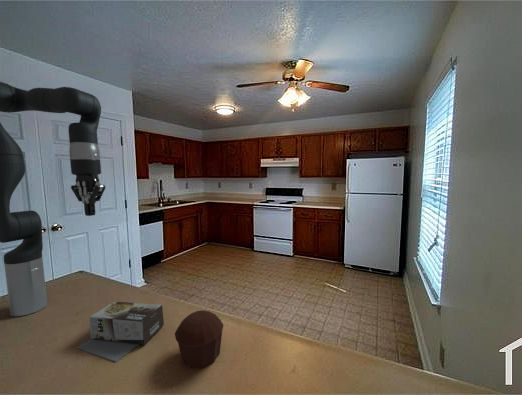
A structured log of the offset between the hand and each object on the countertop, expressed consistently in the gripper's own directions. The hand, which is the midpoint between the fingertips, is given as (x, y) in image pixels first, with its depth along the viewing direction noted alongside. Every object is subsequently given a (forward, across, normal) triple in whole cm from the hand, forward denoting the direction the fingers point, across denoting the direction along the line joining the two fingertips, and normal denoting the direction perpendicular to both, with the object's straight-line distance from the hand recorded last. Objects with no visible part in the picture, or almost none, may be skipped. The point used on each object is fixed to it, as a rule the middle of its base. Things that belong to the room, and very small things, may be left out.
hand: (90, 215), depth 77 cm
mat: (+32, +18, -6) cm, 37 cm away
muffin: (+32, +42, -4) cm, 53 cm away
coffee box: (+28, +10, -5) cm, 31 cm away
